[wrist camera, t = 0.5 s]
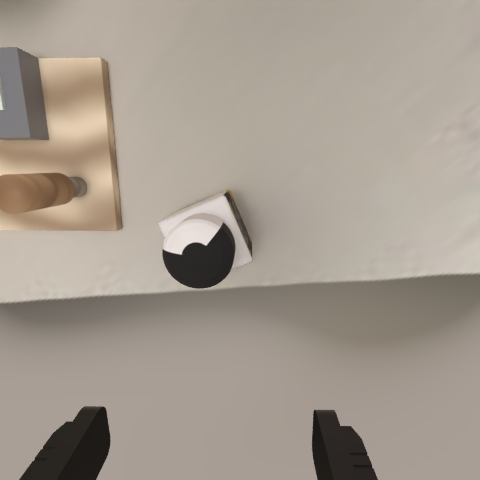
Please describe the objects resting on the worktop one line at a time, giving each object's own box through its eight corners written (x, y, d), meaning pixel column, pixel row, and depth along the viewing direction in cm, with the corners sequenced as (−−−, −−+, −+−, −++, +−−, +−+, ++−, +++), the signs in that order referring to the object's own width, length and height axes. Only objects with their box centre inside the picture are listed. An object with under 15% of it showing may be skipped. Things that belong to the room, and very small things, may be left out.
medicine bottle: (252, 244, 37) (253, 280, 26) (198, 265, 38) (176, 309, 26) (229, 188, 36) (219, 199, 24) (173, 212, 37) (138, 234, 25)
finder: (-10, 58, 32) (-40, 46, 29) (38, 58, 32) (13, 45, 29) (4, 140, 34) (-23, 137, 31) (49, 139, 34) (27, 137, 30)
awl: (61, 172, 34) (-13, 174, 25) (89, 171, 34) (26, 174, 25) (65, 200, 35) (-5, 214, 26) (93, 201, 35) (33, 214, 25)
